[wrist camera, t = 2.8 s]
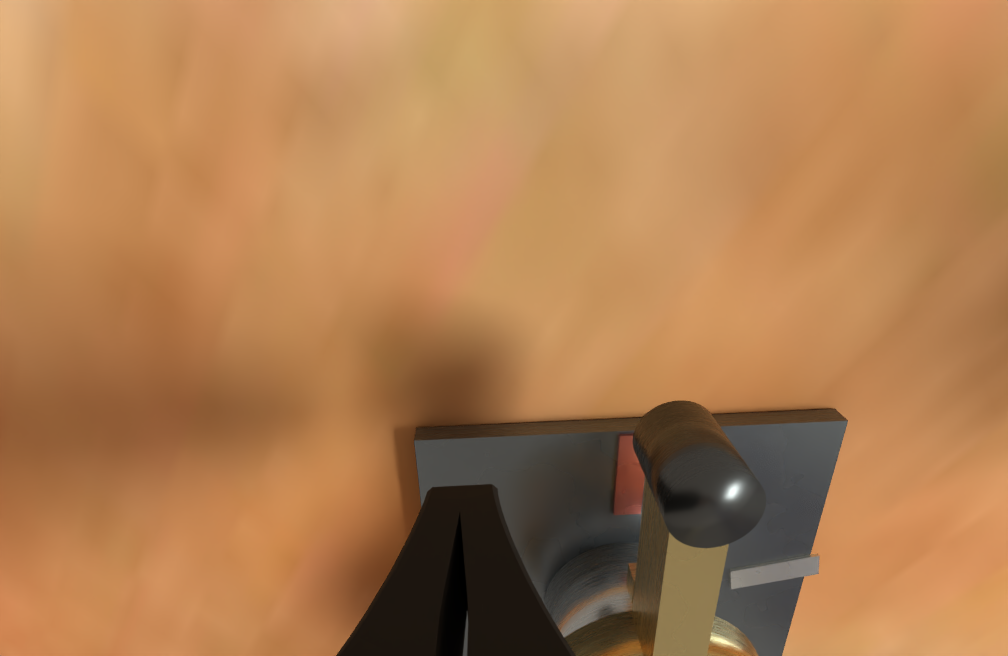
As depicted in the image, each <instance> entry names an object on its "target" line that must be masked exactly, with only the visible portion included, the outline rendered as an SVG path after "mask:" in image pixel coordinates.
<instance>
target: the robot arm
mask: <svg viewBox="0 0 1008 656" xmlns="http://www.w3.org/2000/svg"><path fill="white" fill-rule="evenodd" d="M467 613H468V644H467V656H576V655H575V654H574V652H573V651H572V649H571V648H570V646H569V644H568V643H567V641H566V640H565V638H564V637H563V635H562V633H561V632H560V630H559V629H558V627H557V625H556V624H555V622H554V620H553V619H552V617H551V615H550V613H549V612H548V610H547V608H546V606H545V605H544V603H543V601H542V599H541V597H540V595H539V594H538V592H537V590H536V588H535V586H534V584H533V582H532V580H531V578H530V576H529V574H528V572H527V570H526V568H525V566H524V564H523V562H522V559H521V557H520V555H519V553H518V551H517V549H516V546H515V544H514V542H513V539H512V537H511V534H510V532H509V529H508V526H507V523H506V521H505V518H504V515H503V512H502V508H501V505H500V500H499V496H498V488H496V487H495V486H494V485H493V484H482V485H462V486H442V487H432V488H431V489H430V490H429V491H427V494H426V497H425V500H424V503H423V505H422V508H421V510H420V513H419V515H418V517H417V520H416V522H415V524H414V526H413V528H412V530H411V533H410V535H409V537H408V539H407V541H406V543H405V545H404V547H403V548H402V550H401V552H400V554H399V556H398V558H397V560H396V562H395V564H394V566H393V567H392V569H391V571H390V573H389V575H388V576H387V578H386V580H385V582H384V583H383V585H382V586H381V588H380V590H379V591H378V593H377V595H376V596H375V598H374V600H373V601H372V603H371V605H370V606H369V608H368V610H367V611H366V613H365V614H364V616H363V617H362V619H361V621H360V622H359V624H358V625H357V627H356V628H355V630H354V631H353V633H352V634H351V635H350V637H349V638H348V640H347V641H346V643H345V644H344V645H343V647H342V648H341V650H340V651H339V652H338V654H337V655H336V656H463V649H464V639H465V628H466V618H467Z"/></svg>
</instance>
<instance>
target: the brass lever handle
mask: <svg viewBox="0 0 1008 656" xmlns="http://www.w3.org/2000/svg"><path fill="white" fill-rule="evenodd" d="M633 448H634V451H635V454H636V456H637V458H638V461H639V463H640V465H641V468H642V470H643V472H644V475H645V477H646V480H645V489H644V499H643V508H642V518H641V527H640V537H639V546H638V556H637V565H636V575H635V584H634V594H633V603H632V610H631V611H626V612H621V613H617V614H614V615H611V616H607V617H604V618H601V619H599V620H596V621H594V622H591V623H589V624H587V625H585V626H583V627H581V628H579V629H577V630H575V631H574V632H572V633H571V634H569V635H568V636H566V637H564V638H565V640H566V641H567V643H568V644H569V646H570V648H571V649H572V651H573V652H574V654H575V655H576V656H758V654H757V652H756V650H755V648H754V646H753V644H752V643H751V641H750V640H749V639H748V638H747V636H746V635H745V634H744V633H742V632H741V631H740V630H739V629H738V628H737V627H735V626H734V625H732V624H730V623H729V622H727V621H725V620H723V619H721V618H719V617H716V616H715V612H716V607H717V602H718V597H719V592H720V587H721V581H722V576H723V571H724V566H725V561H726V556H727V551H728V546H729V544H730V543H732V542H735V541H737V540H738V539H740V538H742V537H743V536H745V535H746V534H748V533H749V532H750V531H751V530H752V529H753V528H754V527H755V526H756V525H757V524H758V522H759V521H760V519H761V518H762V516H763V513H764V510H765V507H766V495H765V492H764V489H763V487H762V486H761V484H760V483H759V481H758V480H757V478H756V477H755V475H754V474H753V473H752V471H751V470H750V468H749V467H748V466H747V464H746V463H745V461H744V460H743V458H742V457H741V456H740V454H739V453H738V451H737V450H736V449H735V447H734V446H733V444H732V443H731V441H730V440H729V439H728V437H727V436H726V434H725V433H724V432H723V430H722V429H721V427H720V426H719V424H718V423H717V422H716V420H715V419H714V417H713V416H712V415H711V413H710V412H709V411H708V410H707V409H706V408H704V407H703V406H701V405H699V404H697V403H694V402H690V401H672V402H667V403H664V404H661V405H659V406H657V407H655V408H654V409H652V410H650V411H649V412H648V413H647V414H646V415H644V416H643V418H642V419H641V420H640V421H639V423H638V424H637V426H636V428H635V431H634V434H633Z"/></svg>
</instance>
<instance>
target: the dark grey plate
mask: <svg viewBox="0 0 1008 656" xmlns="http://www.w3.org/2000/svg"><path fill="white" fill-rule="evenodd" d="M711 415H712V416H713V417H714V419H715V420H716V422H717V423H718V424H719V426H720V427H721V429H722V430H723V432H724V433H725V434H726V436H727V437H728V439H729V440H730V441H731V443H732V444H733V446H734V447H735V449H736V450H737V451H738V453H739V454H740V456H741V457H742V458H743V460H744V461H745V463H746V464H747V466H748V467H749V468H750V470H751V471H752V473H753V474H754V475H755V477H756V478H757V480H758V481H759V483H760V484H761V486H762V487H763V489H764V492H765V495H766V507H765V510H764V513H763V516H762V518H761V519H760V521H759V522H758V524H757V525H756V526H755V527H754V528H753V529H752V530H751V531H750V532H749V533H748V534H746V535H745V536H743V537H742V538H740V539H738V540H737V541H735V542H732V543H730V544H729V546H728V551H727V556H726V561H725V566H724V571H723V576H722V581H721V587H720V592H719V597H718V602H717V607H716V612H715V616H716V617H719V618H721V619H723V620H725V621H727V622H729V623H730V624H732V625H734V626H735V627H737V628H738V629H739V630H740V631H741V632H742V633H744V634H745V635H746V636H747V638H748V639H749V640H750V641H751V643H752V644H753V646H754V648H755V650H756V652H757V654H758V656H782V653H783V650H784V646H785V642H786V639H787V635H788V632H789V628H790V625H791V621H792V618H793V614H794V610H795V607H796V603H797V600H798V596H799V593H800V589H801V586H802V582H803V579H804V576H809V575H815V574H818V572H819V555H818V553H817V554H811V550H812V547H813V543H814V539H815V536H816V532H817V529H818V525H819V522H820V518H821V515H822V511H823V508H824V504H825V500H826V497H827V493H828V490H829V486H830V483H831V479H832V476H833V472H834V469H835V465H836V461H837V458H838V454H839V451H840V447H841V444H842V440H843V437H844V433H845V429H846V426H847V422H848V420H847V419H846V418H844V417H843V416H842V415H841V414H840V413H839V412H838V411H837V410H836V409H821V410H799V411H777V412H755V413H733V414H711ZM641 419H642V418H623V419H601V420H578V421H556V422H534V423H512V424H490V425H468V426H446V427H424V428H416V433H415V439H414V444H415V453H416V462H417V471H418V480H419V489H420V498H421V507H422V505H423V503H424V500H425V497H426V494H427V491H429V490H430V489H431V488H432V487H442V486H462V485H482V484H493V485H494V486H495V487H496V488H498V496H499V500H500V505H501V508H502V512H503V515H504V518H505V521H506V523H507V526H508V529H509V532H510V534H511V537H512V539H513V542H514V544H515V546H516V549H517V551H518V553H519V555H520V557H521V559H522V562H523V564H524V566H525V568H526V570H527V572H528V574H529V576H530V578H531V580H532V582H533V584H534V586H535V588H536V590H537V592H538V594H539V595H540V597H541V599H542V601H543V603H544V605H545V606H546V608H547V610H548V612H549V613H550V615H551V617H552V619H553V620H554V622H555V624H556V625H557V627H558V629H559V630H560V632H561V633H562V635H563V637H566V636H568V635H569V634H571V633H572V632H574V631H575V630H577V629H579V628H581V627H583V626H585V625H587V624H589V623H591V622H594V621H596V620H599V619H601V618H604V617H607V616H611V615H614V614H617V613H621V612H626V611H631V610H632V603H633V594H634V584H635V575H636V565H637V556H638V546H639V537H640V527H641V518H642V508H643V499H644V489H645V480H646V477H645V475H644V472H643V470H642V468H641V465H640V463H639V461H638V458H637V456H636V454H635V451H634V448H633V434H634V431H635V428H636V426H637V424H638V423H639V421H640V420H641ZM810 554H811V555H810ZM467 644H468V613H467V618H466V628H465V639H464V649H463V656H467Z"/></svg>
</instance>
